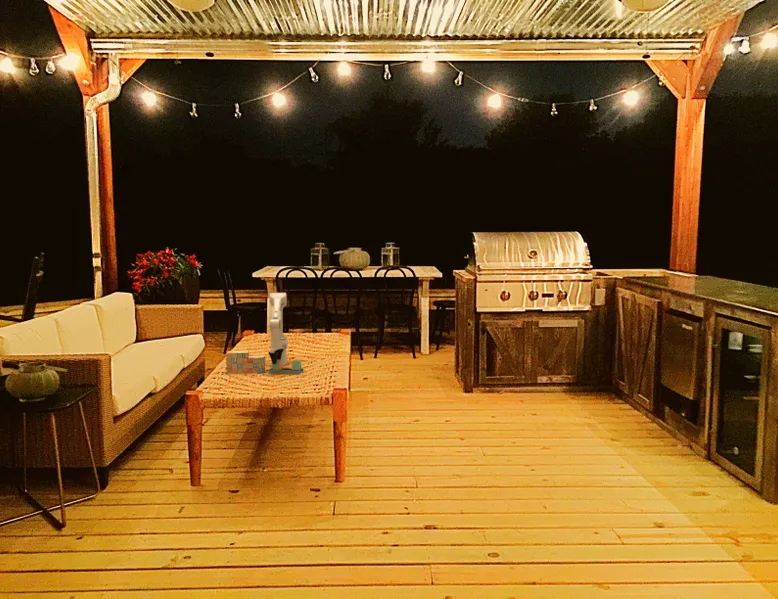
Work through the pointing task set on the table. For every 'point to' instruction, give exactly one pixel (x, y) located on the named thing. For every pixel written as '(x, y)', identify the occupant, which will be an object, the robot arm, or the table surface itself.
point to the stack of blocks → (244, 362)
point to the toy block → (277, 365)
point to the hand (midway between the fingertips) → (276, 362)
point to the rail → (290, 369)
